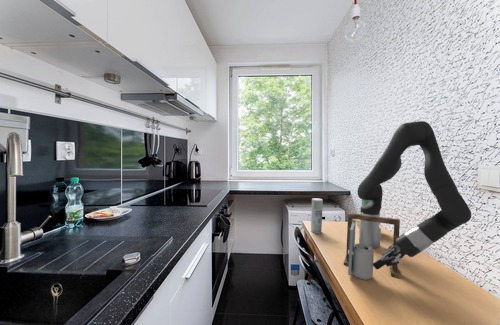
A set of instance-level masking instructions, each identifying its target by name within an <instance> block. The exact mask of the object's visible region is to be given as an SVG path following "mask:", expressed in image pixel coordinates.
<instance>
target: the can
mask: <svg viewBox="0 0 500 325" xmlns="http://www.w3.org/2000/svg"><path fill="white" fill-rule="evenodd" d="M353 251H354V255H353V260H352V273H351V274H353V275H354V276H355V278H357V279H360V280H363V281H364V280H365V281H368V280H370V279H372V278H374V276H373V275H374V266H373V263H374V258H375V257H374V256H375V252H374V251H373V248H372V247H370V246H368V245H365V244H360V243H356V244H355V247H354V248H353Z"/></svg>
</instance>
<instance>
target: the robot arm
mask: <svg viewBox="0 0 500 325" xmlns="http://www.w3.org/2000/svg"><path fill="white" fill-rule="evenodd" d="M415 146H419V147H420V148H421V150H422V152H423V154H424V172H423V173H424V174H423V175H424V178H425V181H426V183H427V184H428V187H429V190H430V191H431V192H432V194H433V196H434V197H435V198H436V201H437V203H438V205H439V208H440V211H438V212H436V213H435V214H434V215H432V216H431V217H429V218H427V219H424V220H423V221H422V222H420V223H418V224H417V225H415V226H413V227H411V228H410V229H408V230H406V231H405V232H403V233H402V234H401V235H399V237H398V238H396V239H395V241H396V243H397V245H395V246H393V245H389V247H388V248H387V249H386V250H385V251H384V252H383V253H382V254H381V256H380V258H378V259H377V260H375V261H373V268H374V269H375V270H379V269H381V268H382V267H384V266H386V267H390V266H392V265H396V264H398V265H399V264H400V261H401V260H402V259H403V258H404V256H408V257H409V258H414V257H415V256H417V255H419V254H420V253H422V252H424V251H425V250H426V249H428V248H429V247H430V246H432V245H433V244H434V243H436V242H437V241H439V240H441V239H442V238H443V237H445V236H446V235H448V233H449V232H452V231H453V230H455V229H457V228H458V227H461V226H462V225H463V224H467V223H468V222H469V221H470V220H471V218H472V211H471V209H470V207H469V206H468V204H467V202H466V200H464V198H463V196H462V195H461V193H460V191H459V189H458V187H457V185H456V183H455V182H454V179H453V178H452V176H451V175H450V173H449V172H450V171H449V170H448V168H447V166H446V164H445V161H444V159H443V156H442V153H441V149H440V146H439V144H438V141H437V137H436V135H435V132H434V130H433V127H432V126H431V124H430V123H428V122H427V121H425V120H424V121H423V120H418V121H413V122H412V121H411V122H405V123H402V124H400V125H399V126H398V127H397V128H396V130H395V131H394V133H393V134H392V137H391V139H390V141H389V143H388V145H387V147H386V148H385V150H384V151H383V153H382V154H381V156H380V157H379V159H378V160H377V162H376V163H375V164H374V166H373V167H372V169H371V171H370V172H369V174H368V175H367V176H366V177H365V178H364V179H363V180H362V181H361V182H360V184H358V187H357V196H358V198H359V200H360V199H361V200H362V199H363V200H371V201H370V202H369V203H368V204H366V205H363V206H362V205H361V206H360V213H359V214H363V215H371V216H378V217H381V216H380V215H381V210H382V203H383V202H382V201H383V195H384V193H383V192H384V191H383V187H382V185H381V184H384V183H385V182H388V181H389V180H391V179H393V178H394V177H395V176H396V174H397V173H398V172H399V171H400V169H402V168H401V167H402V155H403V154H404V152H405V151H406V150H407V149H408V148H410V147H415ZM359 230H360V231H359V234H358V235H359V236H358V244H365V245H368V246H370V247H372V249H374V248H375V249H376V248H378V247H381V235H382V229H381V228H380V225H379V222H372V221H365V220H360V229H359Z"/></svg>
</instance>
